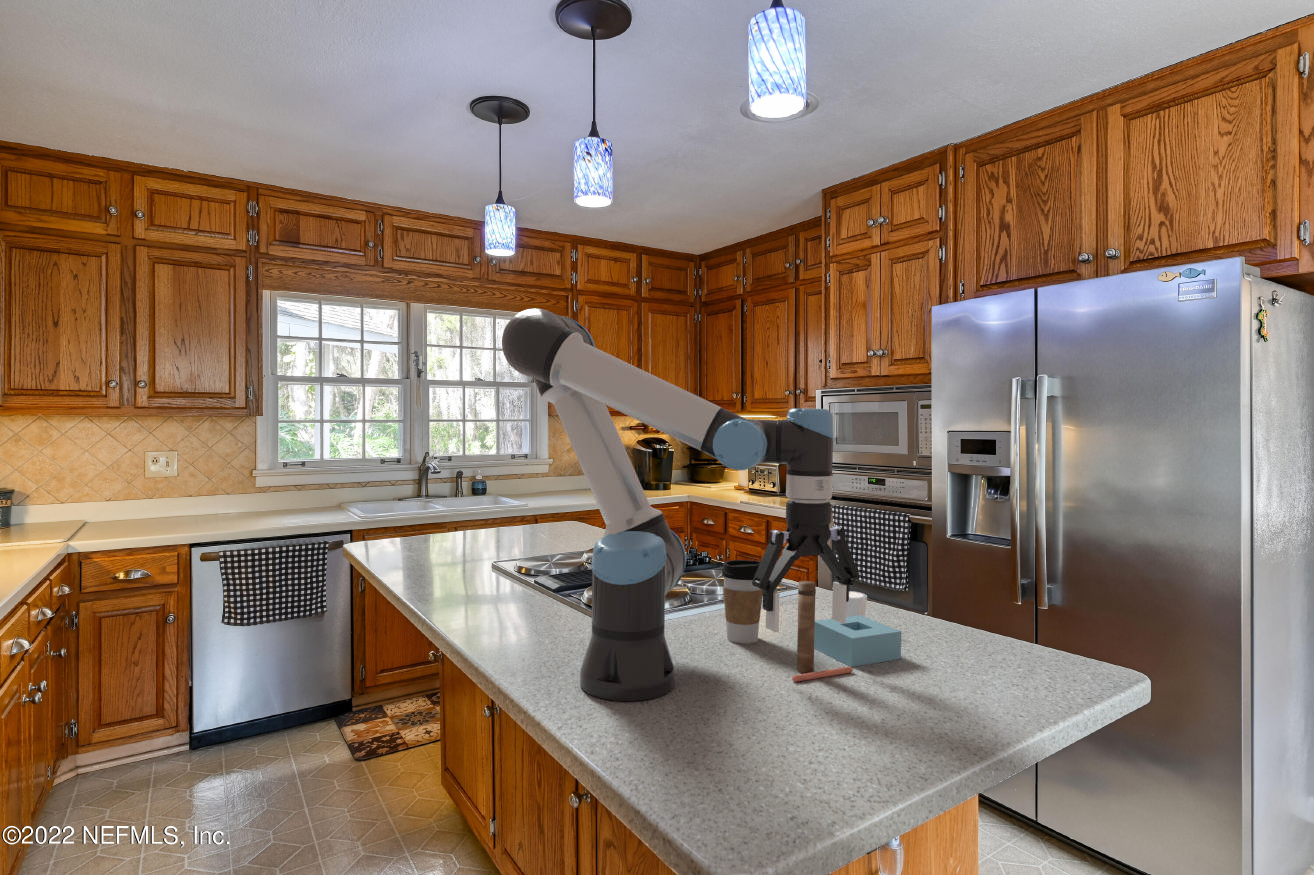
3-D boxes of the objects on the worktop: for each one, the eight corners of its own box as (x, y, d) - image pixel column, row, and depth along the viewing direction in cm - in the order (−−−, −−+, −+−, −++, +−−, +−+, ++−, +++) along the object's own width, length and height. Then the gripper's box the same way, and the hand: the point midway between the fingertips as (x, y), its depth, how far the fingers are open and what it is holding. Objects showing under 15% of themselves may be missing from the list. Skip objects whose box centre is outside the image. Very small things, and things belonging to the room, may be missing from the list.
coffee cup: (750, 648, 132) (752, 568, 132) (711, 639, 137) (713, 561, 137) (772, 637, 139) (773, 561, 138) (734, 629, 144) (736, 555, 143)
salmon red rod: (794, 683, 115) (794, 677, 115) (790, 681, 116) (790, 675, 116) (853, 673, 120) (854, 667, 120) (850, 671, 121) (850, 665, 121)
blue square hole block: (851, 667, 123) (851, 638, 123) (812, 647, 133) (813, 621, 133) (900, 659, 128) (901, 631, 127) (859, 640, 138) (860, 615, 137)
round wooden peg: (803, 674, 119) (805, 585, 119) (793, 669, 122) (794, 581, 121) (817, 672, 120) (819, 584, 120) (807, 666, 123) (809, 580, 122)
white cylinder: (870, 633, 142) (871, 598, 142) (835, 633, 143) (836, 598, 142) (861, 623, 149) (862, 590, 149) (828, 622, 149) (829, 589, 149)
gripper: (757, 505, 112) (754, 640, 112) (882, 500, 122) (879, 623, 122) (733, 500, 118) (730, 627, 119) (853, 495, 129) (850, 612, 129)
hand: (806, 625), depth 121 cm, fingers open, 13 cm apart
